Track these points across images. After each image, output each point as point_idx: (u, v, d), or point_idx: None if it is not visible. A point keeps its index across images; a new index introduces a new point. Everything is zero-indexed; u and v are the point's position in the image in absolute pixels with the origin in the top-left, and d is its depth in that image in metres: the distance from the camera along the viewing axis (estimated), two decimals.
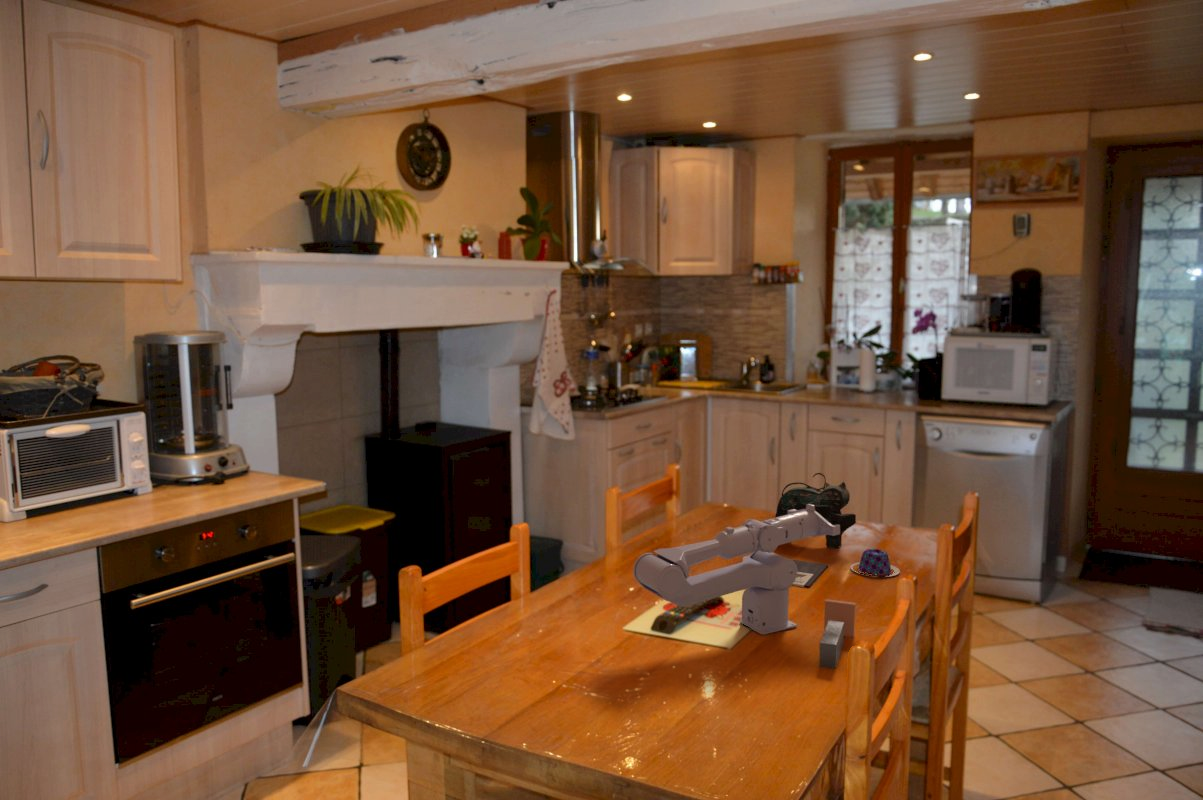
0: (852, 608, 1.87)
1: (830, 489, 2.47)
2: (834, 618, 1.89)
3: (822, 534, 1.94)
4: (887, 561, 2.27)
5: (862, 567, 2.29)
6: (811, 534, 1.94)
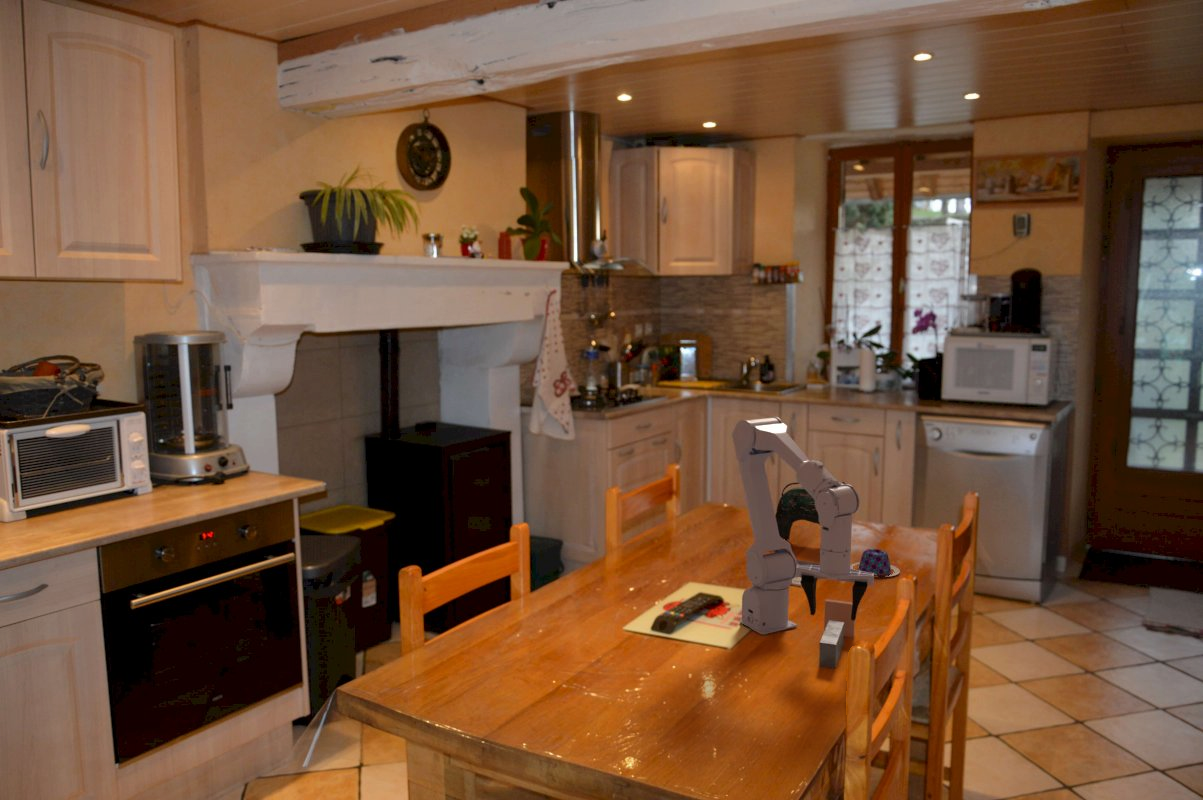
0: None
1: None
2: (834, 618, 1.89)
3: (816, 566, 1.80)
4: (887, 561, 2.27)
5: (862, 567, 2.29)
6: None
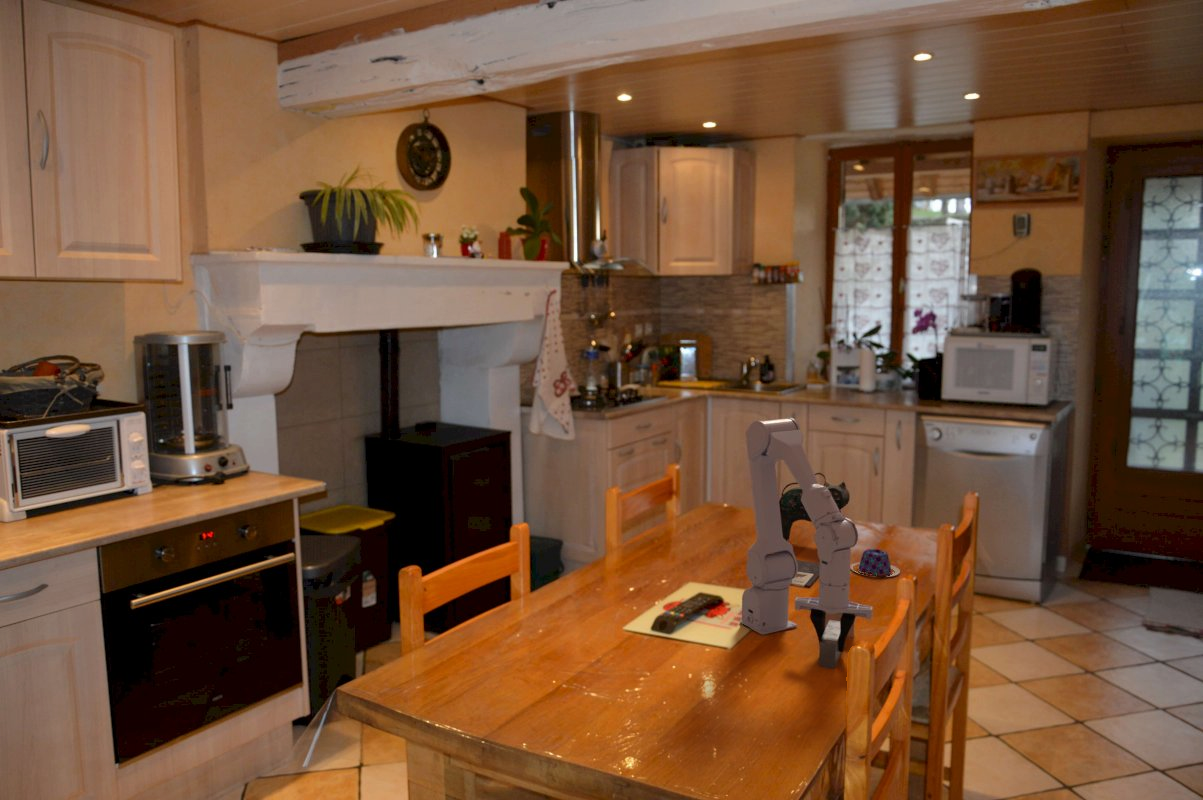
0: None
1: (830, 489, 2.47)
2: (834, 618, 1.89)
3: (815, 598, 1.81)
4: (887, 561, 2.27)
5: (862, 567, 2.29)
6: None
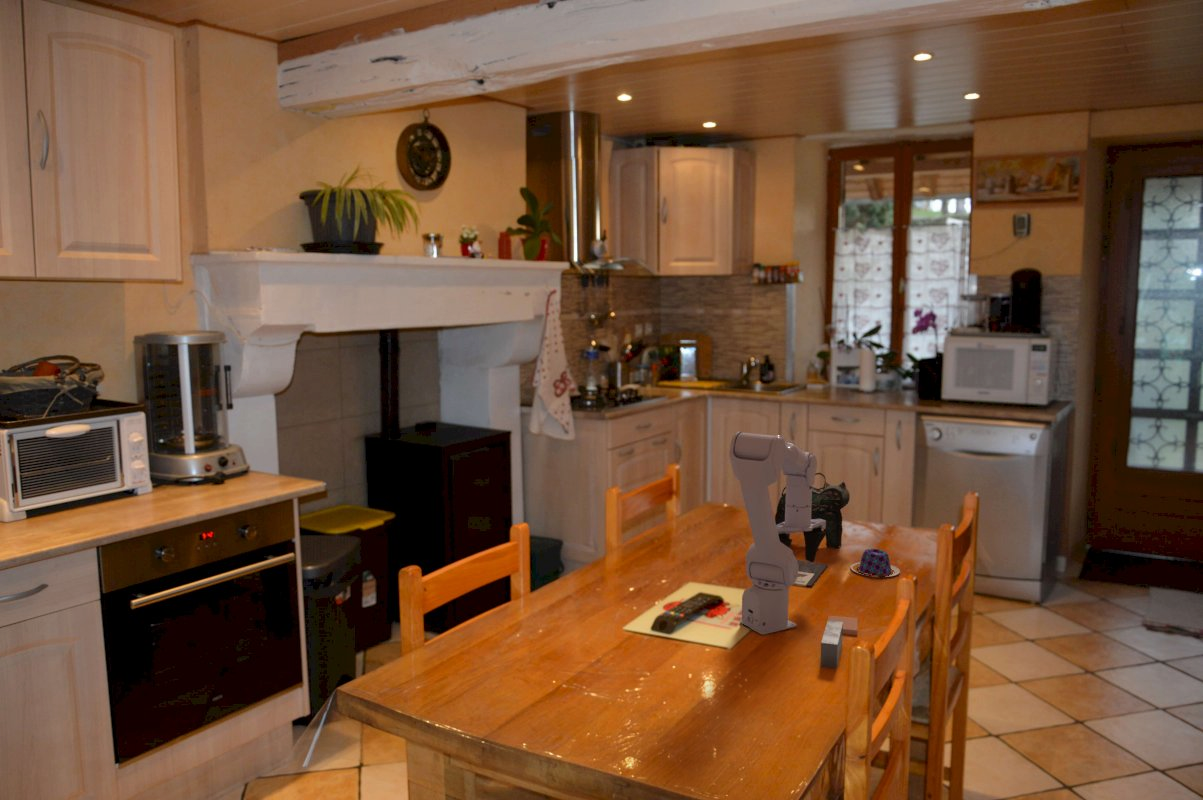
0: (855, 619, 1.95)
1: (830, 489, 2.47)
2: None
3: (779, 524, 2.04)
4: (888, 560, 2.28)
5: (865, 568, 2.28)
6: (785, 516, 2.05)
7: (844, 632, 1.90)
